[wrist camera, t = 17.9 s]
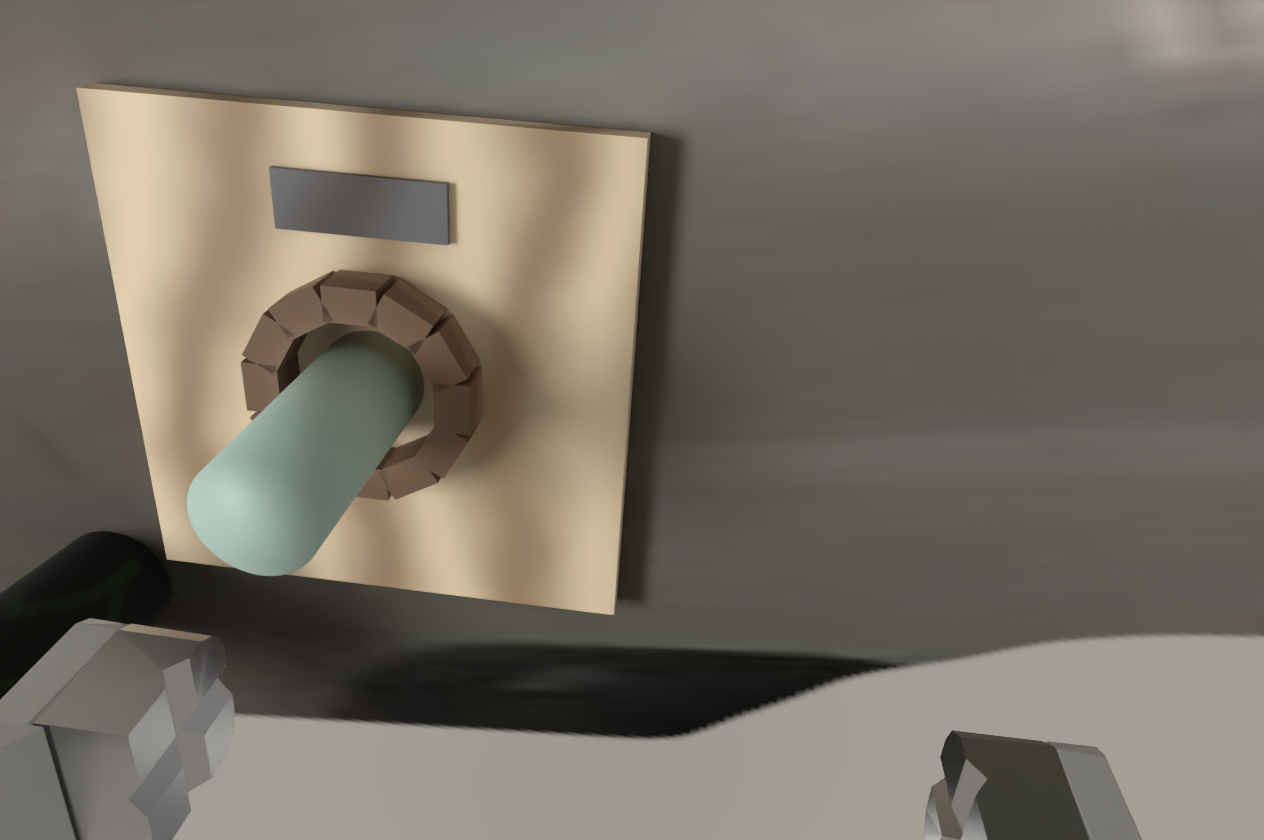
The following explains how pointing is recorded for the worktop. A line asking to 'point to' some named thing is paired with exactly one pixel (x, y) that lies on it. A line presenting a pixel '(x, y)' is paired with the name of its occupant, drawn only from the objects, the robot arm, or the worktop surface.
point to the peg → (306, 456)
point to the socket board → (490, 278)
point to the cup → (78, 597)
